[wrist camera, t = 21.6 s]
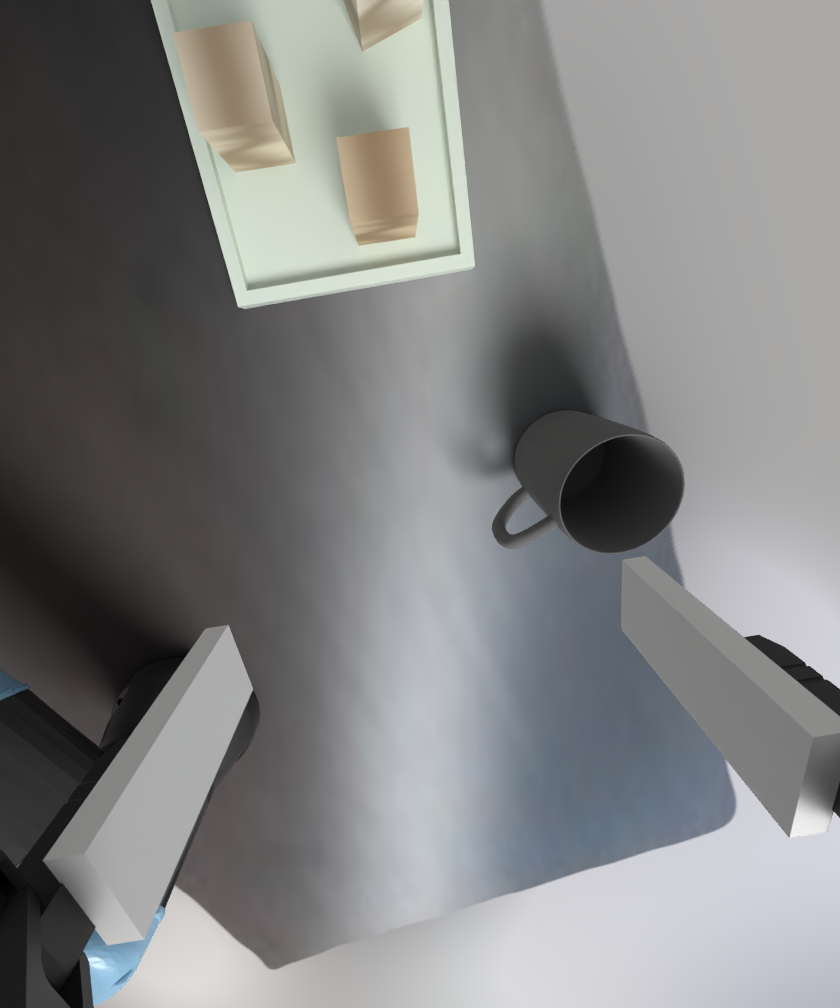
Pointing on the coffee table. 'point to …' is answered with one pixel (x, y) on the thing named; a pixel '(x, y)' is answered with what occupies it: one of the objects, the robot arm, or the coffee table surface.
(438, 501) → the coffee table surface
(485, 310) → the coffee table surface
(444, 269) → the tray
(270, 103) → the beech block
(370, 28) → the maple block
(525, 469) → the mug
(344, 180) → the oak block
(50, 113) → the coffee table surface
